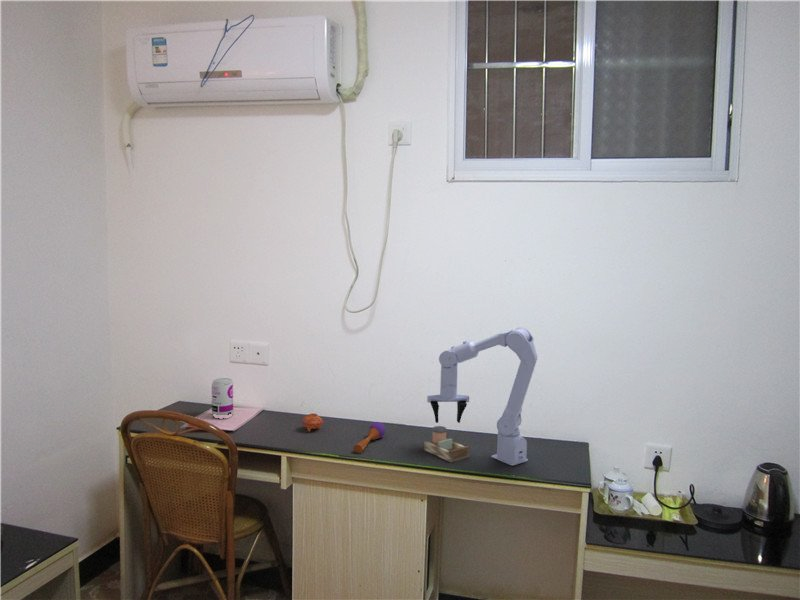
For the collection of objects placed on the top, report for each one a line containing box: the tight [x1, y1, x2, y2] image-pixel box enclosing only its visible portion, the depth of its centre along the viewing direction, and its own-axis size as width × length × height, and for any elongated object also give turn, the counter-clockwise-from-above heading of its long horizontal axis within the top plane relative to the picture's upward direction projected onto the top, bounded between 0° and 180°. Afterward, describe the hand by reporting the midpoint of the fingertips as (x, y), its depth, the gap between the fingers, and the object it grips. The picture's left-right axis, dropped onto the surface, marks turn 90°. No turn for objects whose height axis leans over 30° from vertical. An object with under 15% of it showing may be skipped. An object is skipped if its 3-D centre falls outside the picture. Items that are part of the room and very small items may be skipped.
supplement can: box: [211, 377, 234, 415], centre depth 233 cm, size 8×8×15 cm
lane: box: [423, 440, 471, 463], centre depth 199 cm, size 14×8×4 cm, turn 37°
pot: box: [301, 412, 324, 433], centre depth 220 cm, size 8×8×7 cm
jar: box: [432, 425, 447, 446], centre depth 201 cm, size 5×5×7 cm
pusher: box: [438, 437, 453, 450], centre depth 199 cm, size 1×6×3 cm, turn 127°
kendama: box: [353, 421, 386, 454], centre depth 207 cm, size 6×6×20 cm
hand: (447, 421), depth 203 cm, fingers open, 7 cm apart
